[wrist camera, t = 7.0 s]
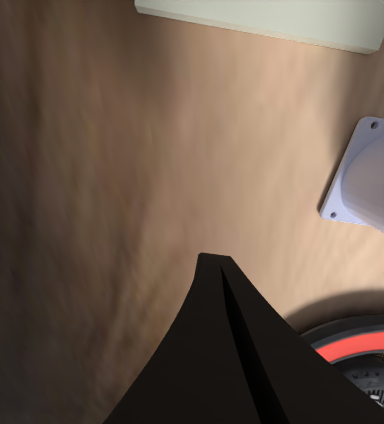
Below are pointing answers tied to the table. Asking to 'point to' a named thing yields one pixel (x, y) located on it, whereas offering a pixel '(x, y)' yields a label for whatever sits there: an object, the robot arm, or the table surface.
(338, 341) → the electronic game
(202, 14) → the board
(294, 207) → the table surface
